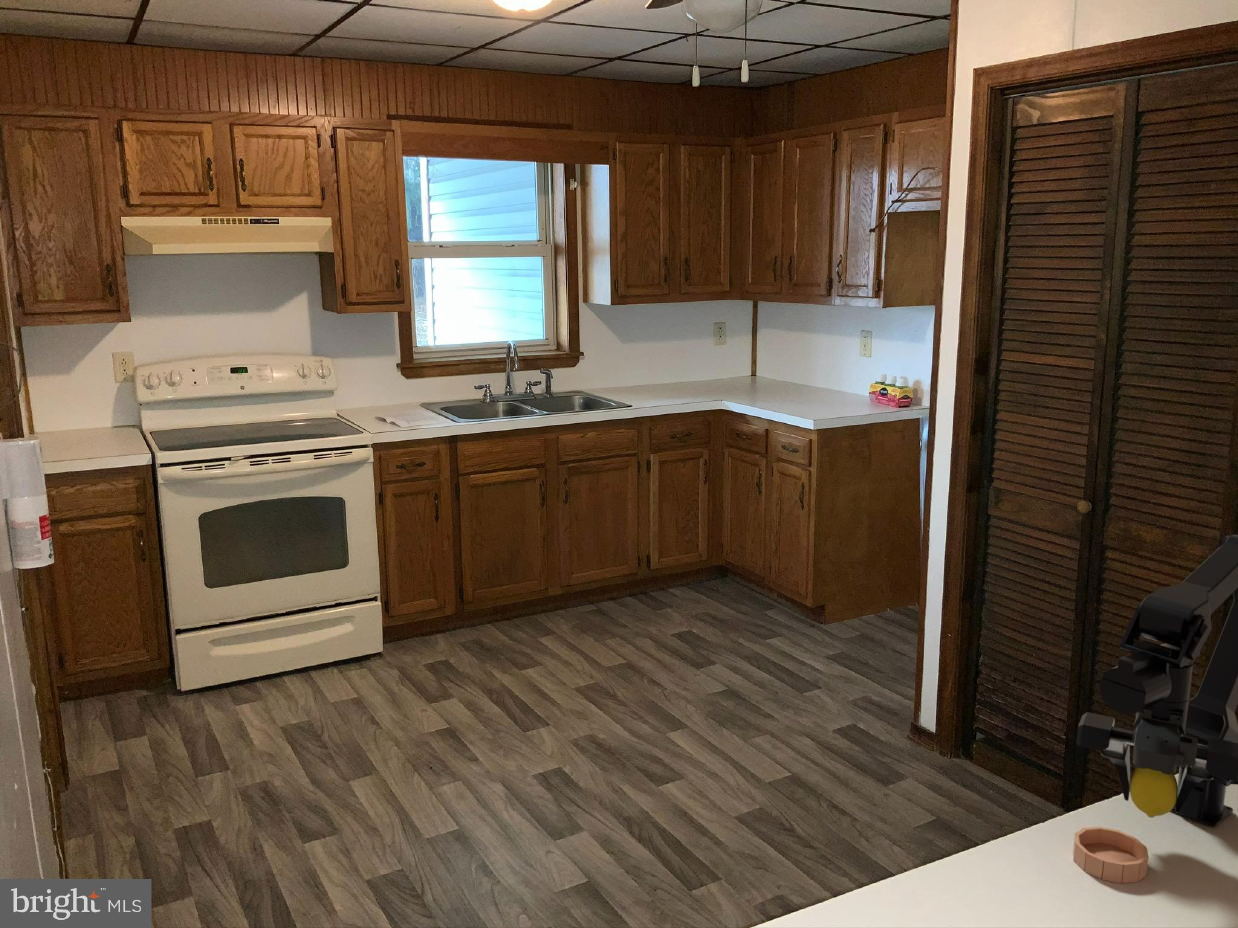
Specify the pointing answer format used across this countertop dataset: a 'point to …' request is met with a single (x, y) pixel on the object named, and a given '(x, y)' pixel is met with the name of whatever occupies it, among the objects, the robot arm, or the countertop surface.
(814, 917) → the countertop surface
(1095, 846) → the dish
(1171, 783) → the lemon
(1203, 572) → the robot arm
